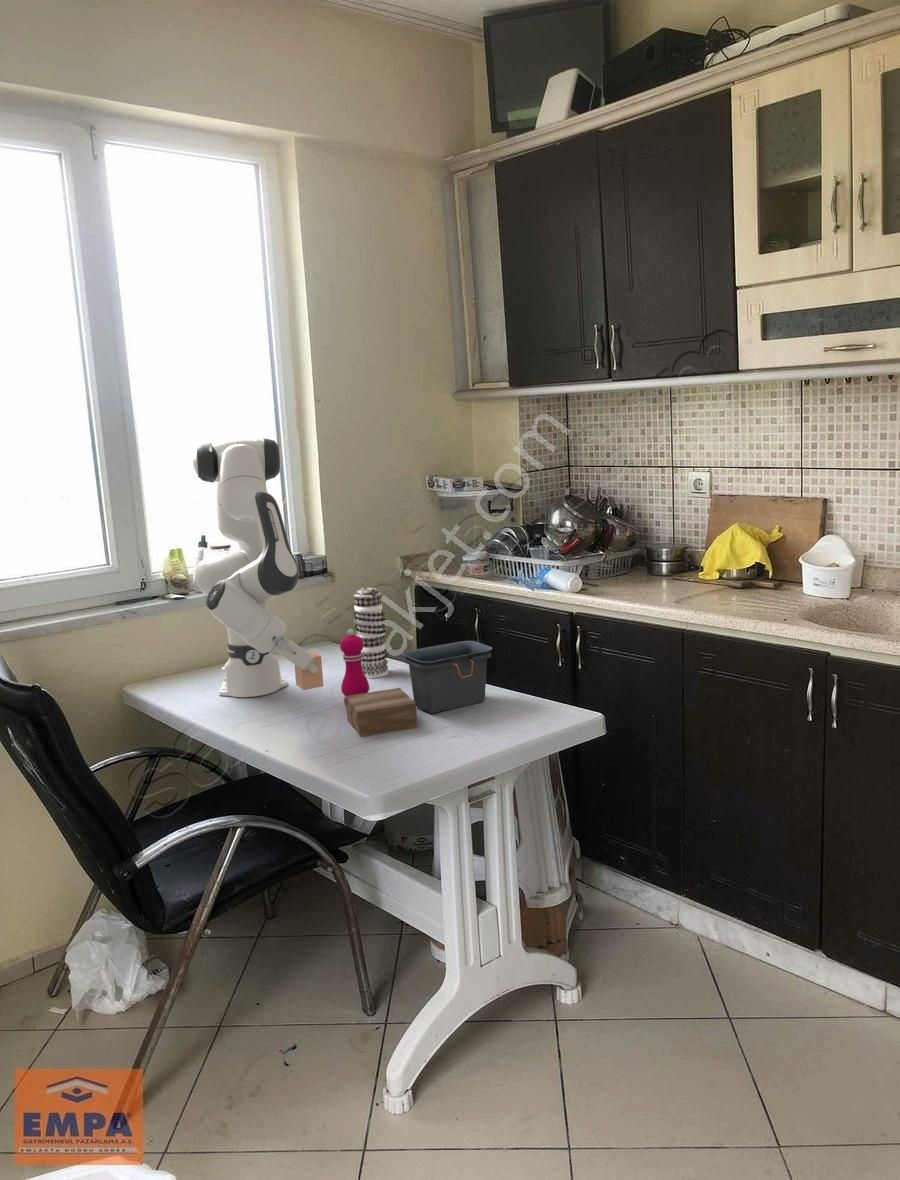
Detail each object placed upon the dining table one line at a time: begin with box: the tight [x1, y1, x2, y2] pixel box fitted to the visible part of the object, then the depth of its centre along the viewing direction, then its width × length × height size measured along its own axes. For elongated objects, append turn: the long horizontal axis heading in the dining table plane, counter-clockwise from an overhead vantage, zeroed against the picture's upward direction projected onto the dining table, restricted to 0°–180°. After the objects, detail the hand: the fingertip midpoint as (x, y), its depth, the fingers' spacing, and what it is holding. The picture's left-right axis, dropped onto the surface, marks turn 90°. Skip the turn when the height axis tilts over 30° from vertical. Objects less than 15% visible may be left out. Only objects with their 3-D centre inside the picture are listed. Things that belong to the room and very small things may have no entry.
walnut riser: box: [344, 687, 418, 738], centre depth 230 cm, size 14×14×6 cm
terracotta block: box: [293, 650, 324, 691], centre depth 225 cm, size 5×5×8 cm
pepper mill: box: [339, 628, 370, 707], centre depth 245 cm, size 7×7×20 cm
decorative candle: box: [352, 586, 389, 679], centre depth 272 cm, size 9×9×25 cm
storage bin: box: [402, 640, 493, 714], centre depth 240 cm, size 21×16×14 cm
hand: (310, 667), depth 225 cm, fingers closed on terracotta block, 5 cm apart
